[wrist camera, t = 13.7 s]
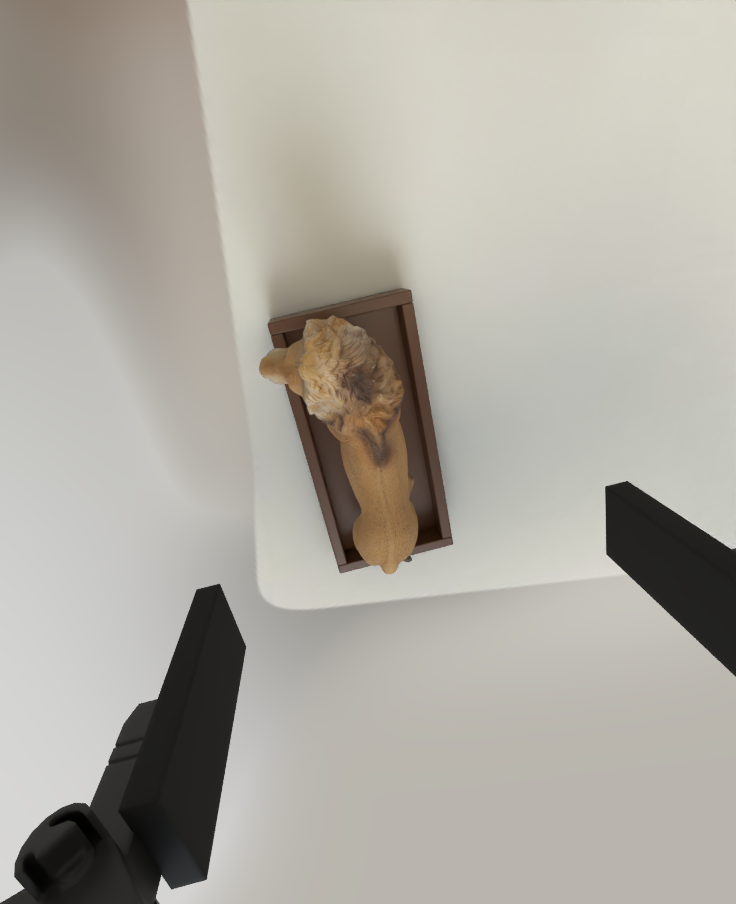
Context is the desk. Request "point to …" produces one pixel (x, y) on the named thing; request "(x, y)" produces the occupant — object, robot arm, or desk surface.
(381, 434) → the lion figurine
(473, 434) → the desk surface
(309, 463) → the tray
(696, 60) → the desk surface
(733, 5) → the desk surface
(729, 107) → the desk surface
